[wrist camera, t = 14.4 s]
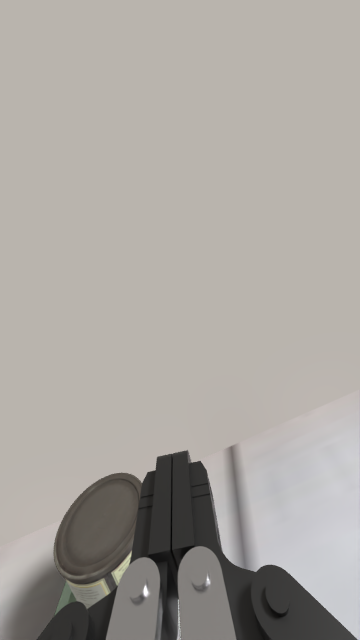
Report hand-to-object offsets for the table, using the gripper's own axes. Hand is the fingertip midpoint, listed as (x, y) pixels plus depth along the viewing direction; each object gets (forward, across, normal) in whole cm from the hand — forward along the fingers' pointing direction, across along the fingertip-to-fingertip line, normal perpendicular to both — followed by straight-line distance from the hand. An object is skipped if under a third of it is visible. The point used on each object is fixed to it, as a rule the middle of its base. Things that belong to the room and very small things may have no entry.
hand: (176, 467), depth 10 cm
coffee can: (+10, +12, +30) cm, 34 cm away
